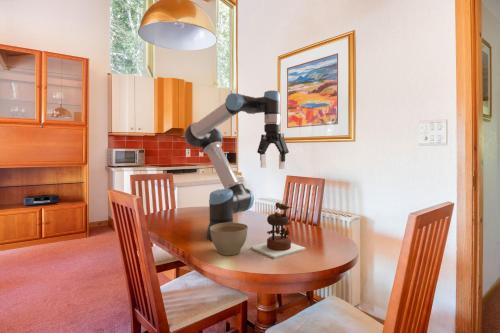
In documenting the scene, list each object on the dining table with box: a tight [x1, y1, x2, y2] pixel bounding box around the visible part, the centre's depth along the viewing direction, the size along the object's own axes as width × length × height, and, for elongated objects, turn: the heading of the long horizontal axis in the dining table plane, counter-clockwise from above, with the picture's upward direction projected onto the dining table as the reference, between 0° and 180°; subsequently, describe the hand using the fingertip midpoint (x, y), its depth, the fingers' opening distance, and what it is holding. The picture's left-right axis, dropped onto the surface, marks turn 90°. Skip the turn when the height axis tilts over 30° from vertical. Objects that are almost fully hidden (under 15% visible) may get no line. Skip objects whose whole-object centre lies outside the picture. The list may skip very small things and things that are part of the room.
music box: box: [266, 201, 293, 251], centre depth 130 cm, size 15×11×20 cm
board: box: [250, 242, 307, 259], centre depth 131 cm, size 16×18×1 cm
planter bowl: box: [210, 222, 249, 256], centre depth 127 cm, size 16×16×11 cm
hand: (272, 168), depth 144 cm, fingers open, 13 cm apart
